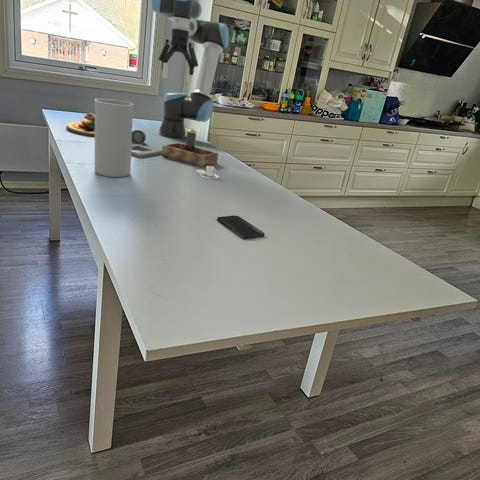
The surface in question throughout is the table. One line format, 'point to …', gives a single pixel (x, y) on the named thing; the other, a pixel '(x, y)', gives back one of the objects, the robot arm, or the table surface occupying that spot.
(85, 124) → the wooden plate with food
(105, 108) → the cylinder vase
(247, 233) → the phone
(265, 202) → the table surface
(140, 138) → the ceramic mug
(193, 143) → the battery cell
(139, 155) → the grey flat square frame
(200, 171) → the teacup and saucer
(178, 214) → the table surface
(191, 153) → the walnut trough
